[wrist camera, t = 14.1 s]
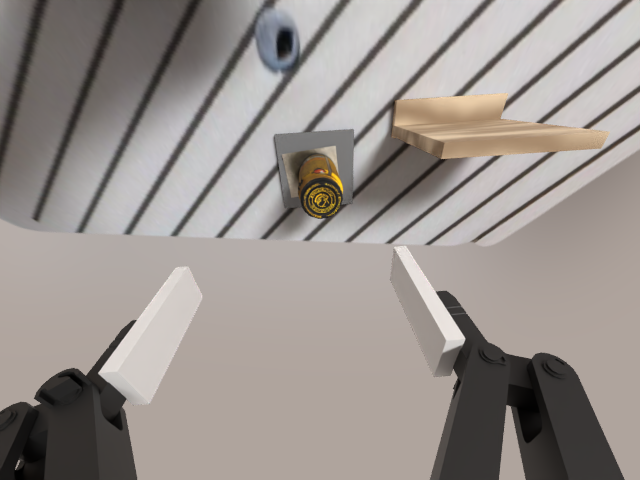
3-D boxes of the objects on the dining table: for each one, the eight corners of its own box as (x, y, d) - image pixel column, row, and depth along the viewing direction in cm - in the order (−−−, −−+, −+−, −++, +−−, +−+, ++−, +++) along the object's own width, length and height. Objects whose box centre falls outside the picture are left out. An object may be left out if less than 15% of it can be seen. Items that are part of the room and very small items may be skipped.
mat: (274, 134, 36) (274, 134, 35) (353, 129, 36) (353, 129, 35) (285, 206, 42) (284, 208, 42) (351, 202, 42) (352, 203, 42)
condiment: (340, 189, 40) (351, 221, 30) (291, 197, 41) (286, 231, 30) (335, 145, 36) (346, 164, 26) (282, 153, 37) (272, 176, 27)
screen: (394, 100, 34) (453, 103, 21) (503, 93, 34) (631, 91, 21) (391, 137, 37) (440, 161, 23) (491, 130, 37) (599, 150, 23)
